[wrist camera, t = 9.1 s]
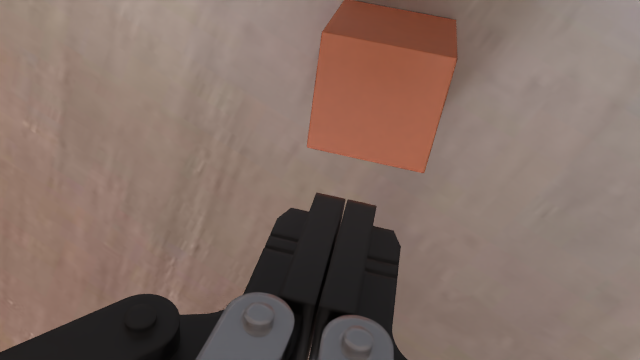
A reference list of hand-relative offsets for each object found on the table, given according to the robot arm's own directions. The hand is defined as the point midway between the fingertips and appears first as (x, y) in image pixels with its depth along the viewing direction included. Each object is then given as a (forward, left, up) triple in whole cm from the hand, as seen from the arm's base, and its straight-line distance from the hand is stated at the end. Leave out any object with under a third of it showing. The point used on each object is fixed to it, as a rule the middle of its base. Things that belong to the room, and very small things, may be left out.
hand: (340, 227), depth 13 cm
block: (0, 0, -12) cm, 12 cm away
